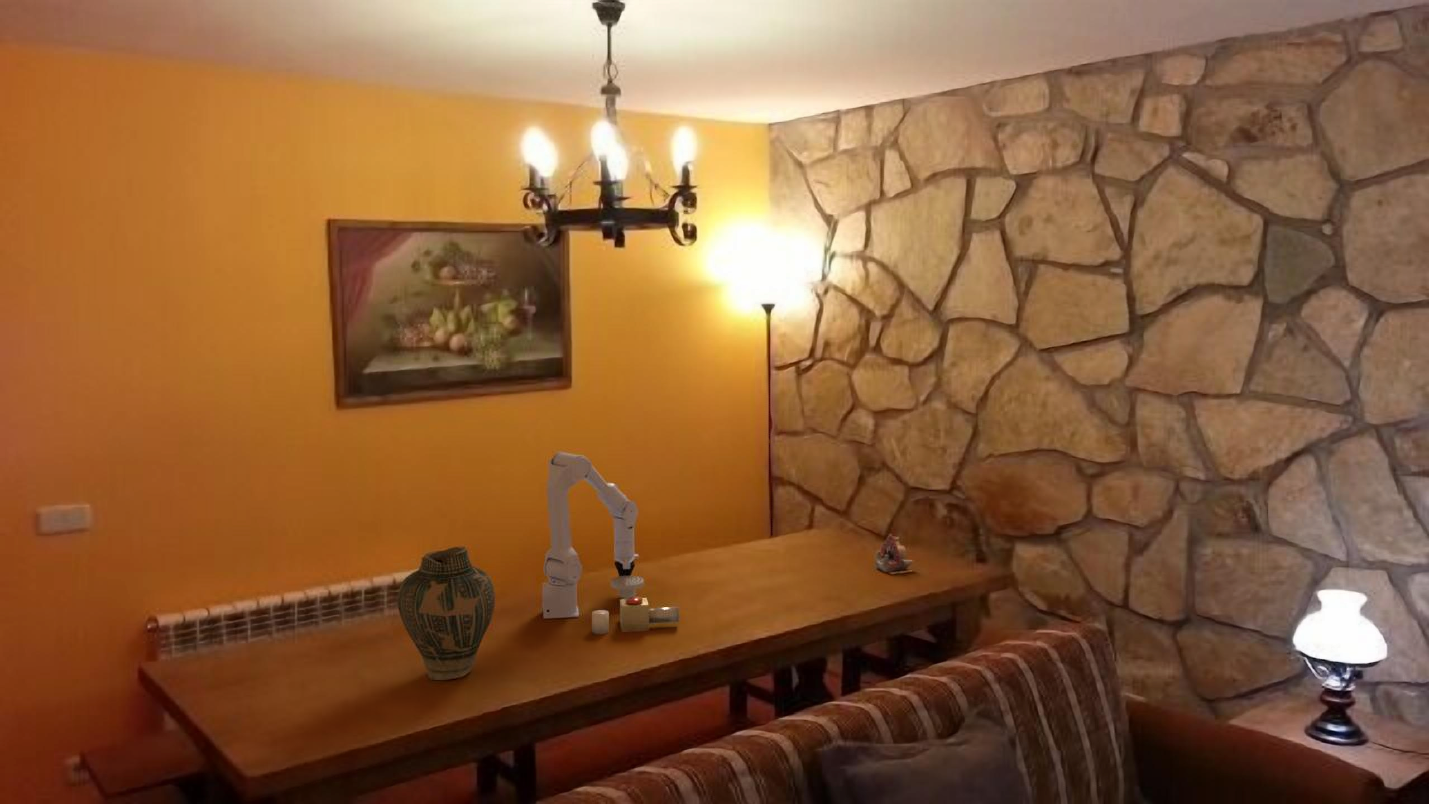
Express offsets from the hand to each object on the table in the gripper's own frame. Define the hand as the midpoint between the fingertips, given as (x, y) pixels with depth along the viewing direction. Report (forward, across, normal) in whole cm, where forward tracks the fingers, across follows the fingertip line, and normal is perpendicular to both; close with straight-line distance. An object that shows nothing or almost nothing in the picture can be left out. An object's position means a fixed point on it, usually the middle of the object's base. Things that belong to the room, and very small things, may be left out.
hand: (624, 586), depth 330 cm
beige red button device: (+2, -27, -4) cm, 27 cm away
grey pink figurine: (+3, +12, -84) cm, 85 cm away
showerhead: (+3, -7, 0) cm, 8 cm away
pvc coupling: (+2, -30, +9) cm, 32 cm away
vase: (+3, -54, +46) cm, 71 cm away
